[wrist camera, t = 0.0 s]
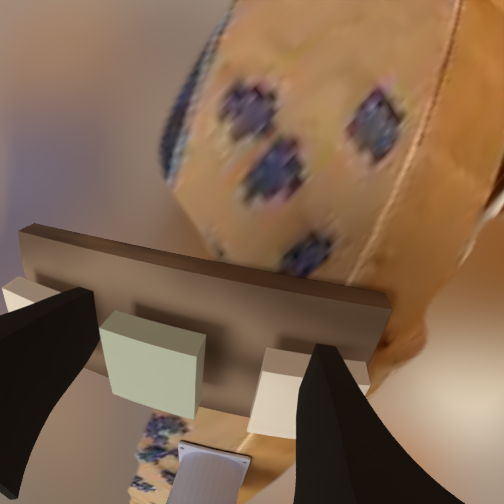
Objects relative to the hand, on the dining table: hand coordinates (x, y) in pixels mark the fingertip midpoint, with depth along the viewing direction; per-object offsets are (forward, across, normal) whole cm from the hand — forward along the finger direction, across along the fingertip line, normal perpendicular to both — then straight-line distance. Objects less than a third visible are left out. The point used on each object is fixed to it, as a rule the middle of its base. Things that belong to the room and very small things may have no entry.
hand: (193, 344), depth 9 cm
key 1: (+7, -6, +8) cm, 12 cm away
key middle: (+7, +4, +8) cm, 11 cm away
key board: (+10, +4, +8) cm, 13 cm away
